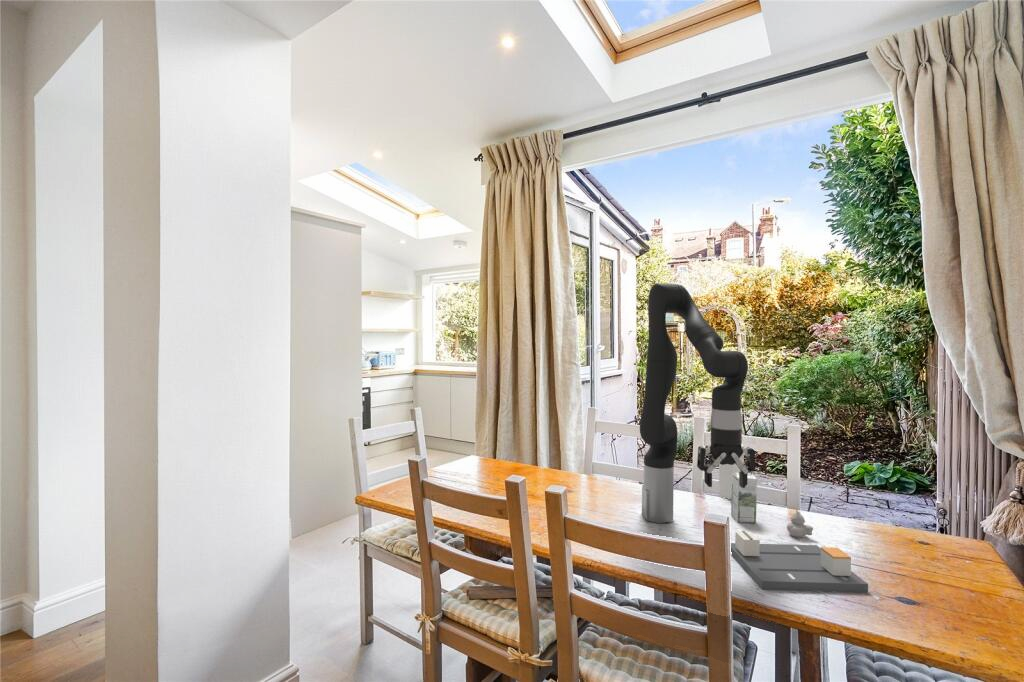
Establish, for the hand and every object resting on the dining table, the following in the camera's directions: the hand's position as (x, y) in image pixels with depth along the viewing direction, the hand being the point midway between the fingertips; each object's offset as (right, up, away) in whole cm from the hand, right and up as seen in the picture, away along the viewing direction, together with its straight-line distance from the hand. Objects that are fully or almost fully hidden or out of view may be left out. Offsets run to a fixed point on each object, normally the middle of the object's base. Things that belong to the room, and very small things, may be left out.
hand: (725, 486), depth 126 cm
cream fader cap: (+5, -17, -1) cm, 18 cm away
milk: (+23, -18, +47) cm, 56 cm away
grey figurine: (+28, -19, +13) cm, 36 cm away
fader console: (+14, -19, -6) cm, 24 cm away
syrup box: (+17, -19, +26) cm, 36 cm away
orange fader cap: (+21, -17, -11) cm, 30 cm away
